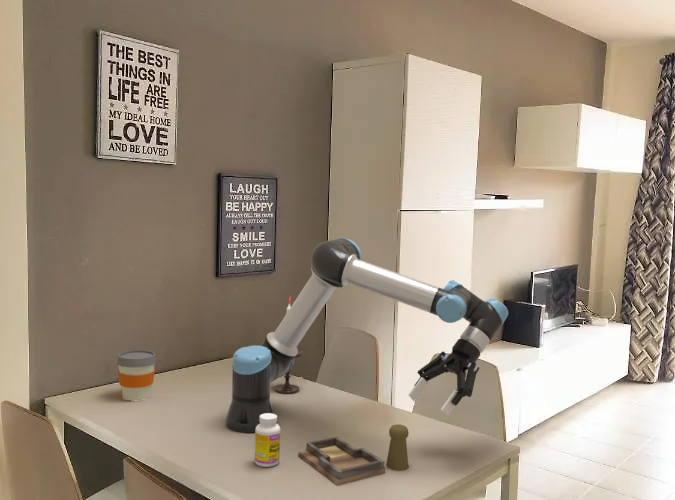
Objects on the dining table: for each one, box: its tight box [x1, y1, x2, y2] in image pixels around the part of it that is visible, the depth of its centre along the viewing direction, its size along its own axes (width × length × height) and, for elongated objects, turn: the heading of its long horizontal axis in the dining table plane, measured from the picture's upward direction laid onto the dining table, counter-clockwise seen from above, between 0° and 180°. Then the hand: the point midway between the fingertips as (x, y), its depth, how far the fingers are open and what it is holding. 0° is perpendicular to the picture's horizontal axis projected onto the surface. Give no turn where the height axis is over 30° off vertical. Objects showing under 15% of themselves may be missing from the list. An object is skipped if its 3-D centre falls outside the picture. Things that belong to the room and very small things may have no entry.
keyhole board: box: [297, 436, 386, 486], centre depth 173 cm, size 20×15×3 cm
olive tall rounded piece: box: [385, 424, 409, 472], centre depth 173 cm, size 6×6×11 cm
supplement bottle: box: [254, 413, 281, 468], centre depth 172 cm, size 7×7×13 cm
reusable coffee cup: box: [116, 349, 157, 402], centre depth 222 cm, size 13×13×15 cm
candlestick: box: [274, 295, 304, 395], centre depth 234 cm, size 11×11×35 cm
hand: (427, 405), depth 177 cm, fingers open, 13 cm apart
